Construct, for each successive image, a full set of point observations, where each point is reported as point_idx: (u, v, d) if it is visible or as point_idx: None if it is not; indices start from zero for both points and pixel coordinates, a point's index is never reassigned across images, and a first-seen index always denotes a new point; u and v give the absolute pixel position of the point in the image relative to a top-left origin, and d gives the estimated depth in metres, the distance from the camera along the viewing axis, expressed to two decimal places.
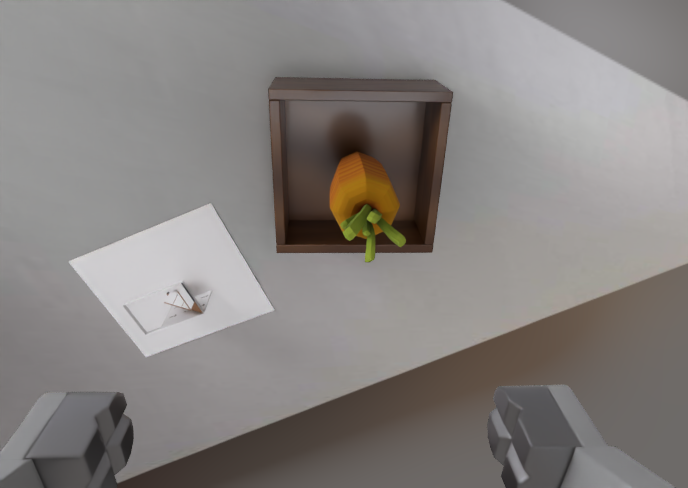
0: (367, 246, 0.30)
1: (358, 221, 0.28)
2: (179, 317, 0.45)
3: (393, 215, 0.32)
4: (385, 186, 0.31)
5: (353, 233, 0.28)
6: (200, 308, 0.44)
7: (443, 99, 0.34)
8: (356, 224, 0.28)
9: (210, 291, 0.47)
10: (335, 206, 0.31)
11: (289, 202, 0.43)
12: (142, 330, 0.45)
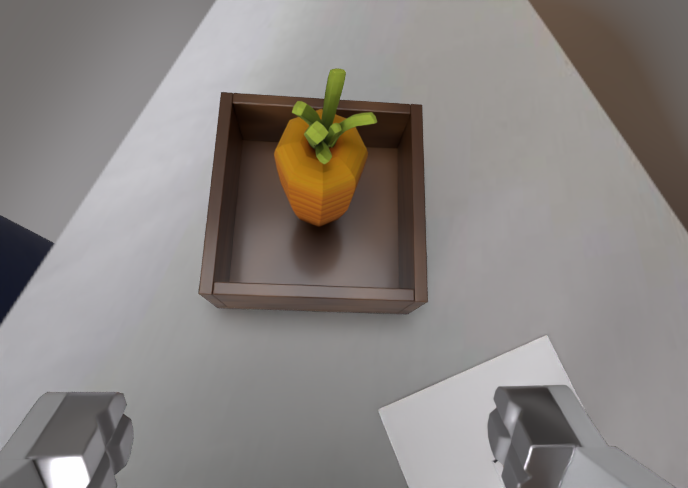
0: (353, 122, 0.21)
1: (307, 128, 0.20)
2: None
3: None
4: (289, 124, 0.24)
5: (314, 124, 0.19)
6: None
7: (228, 101, 0.30)
8: (308, 128, 0.20)
9: None
10: (314, 185, 0.23)
11: None
12: None
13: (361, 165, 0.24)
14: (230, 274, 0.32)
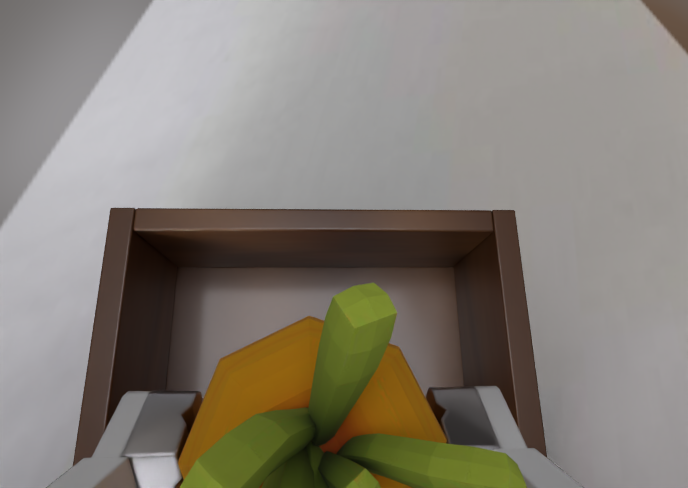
0: None
1: None
2: None
3: None
4: (216, 380, 0.08)
5: None
6: None
7: (124, 226, 0.15)
8: None
9: None
10: None
11: None
12: None
13: None
14: None
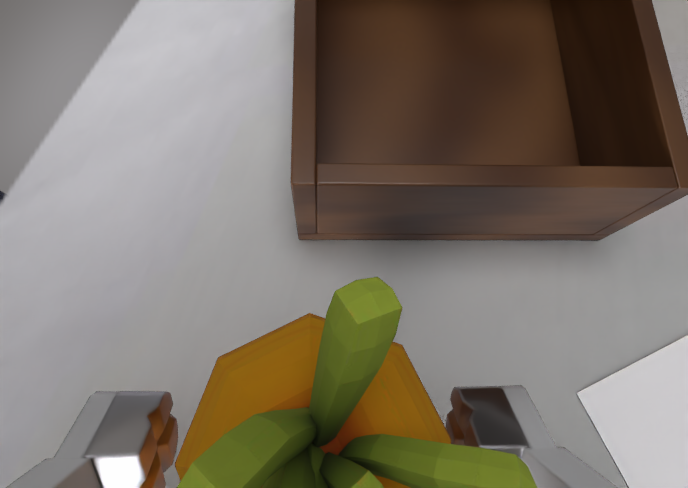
0: None
1: None
2: None
3: None
4: (215, 379, 0.08)
5: None
6: None
7: None
8: None
9: None
10: None
11: None
12: None
13: None
14: None
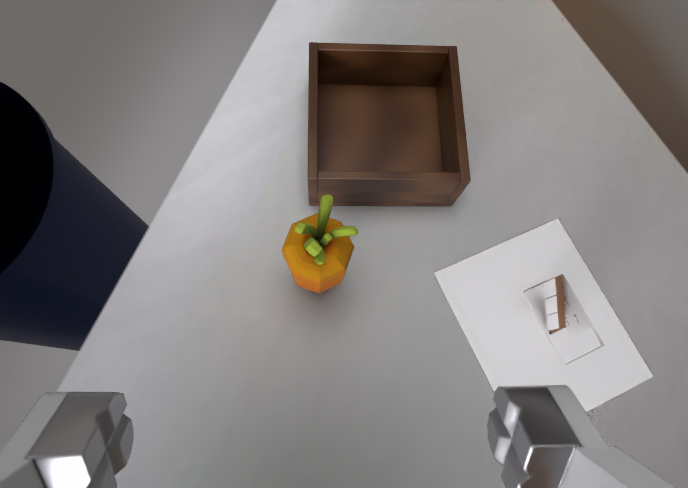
0: (340, 233, 0.28)
1: (306, 242, 0.27)
2: (575, 306, 0.38)
3: None
4: (292, 227, 0.31)
5: (311, 244, 0.26)
6: (556, 276, 0.38)
7: (315, 48, 0.41)
8: (307, 243, 0.27)
9: (541, 284, 0.42)
10: (313, 275, 0.30)
11: None
12: (598, 348, 0.36)
13: (349, 256, 0.31)
14: None
